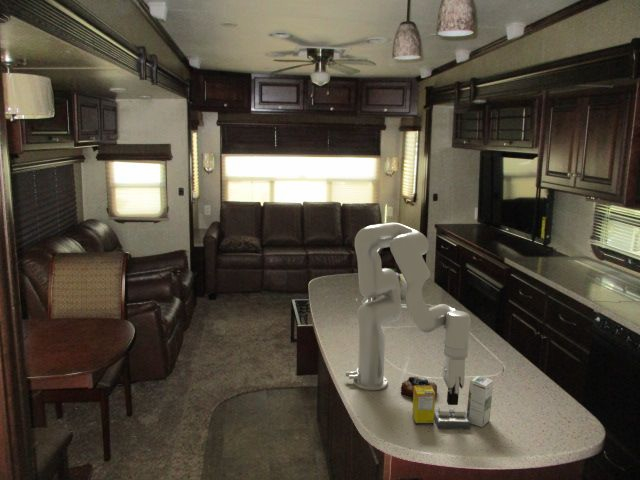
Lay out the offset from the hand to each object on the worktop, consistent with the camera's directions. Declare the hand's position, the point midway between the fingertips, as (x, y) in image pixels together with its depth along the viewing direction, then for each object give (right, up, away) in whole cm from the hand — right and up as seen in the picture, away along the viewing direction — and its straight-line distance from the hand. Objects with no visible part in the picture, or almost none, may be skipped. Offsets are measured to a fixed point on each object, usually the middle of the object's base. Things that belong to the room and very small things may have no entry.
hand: (452, 403), depth 177 cm
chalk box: (-2, +22, +141) cm, 142 cm away
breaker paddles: (0, -3, +1) cm, 4 cm away
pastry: (-7, -3, +21) cm, 22 cm away
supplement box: (-9, -6, +2) cm, 11 cm away
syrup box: (+9, -7, +2) cm, 11 cm away
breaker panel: (0, -6, +1) cm, 7 cm away
